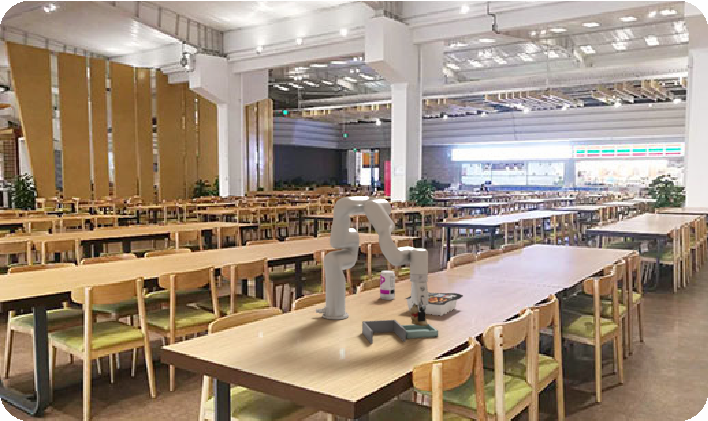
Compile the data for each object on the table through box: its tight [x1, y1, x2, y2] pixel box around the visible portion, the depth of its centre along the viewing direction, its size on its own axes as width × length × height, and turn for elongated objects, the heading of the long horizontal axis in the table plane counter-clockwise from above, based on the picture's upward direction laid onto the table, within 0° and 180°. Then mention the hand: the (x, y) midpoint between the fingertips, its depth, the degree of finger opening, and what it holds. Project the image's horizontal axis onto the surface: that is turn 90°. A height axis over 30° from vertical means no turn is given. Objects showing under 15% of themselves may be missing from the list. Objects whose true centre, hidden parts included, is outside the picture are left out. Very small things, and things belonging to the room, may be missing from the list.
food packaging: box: [405, 291, 464, 317], centre depth 283 cm, size 25×8×23 cm
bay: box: [361, 319, 407, 345], centre depth 235 cm, size 15×16×5 cm
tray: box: [400, 323, 439, 339], centre depth 240 cm, size 14×12×2 cm
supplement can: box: [379, 270, 396, 301], centre depth 310 cm, size 8×8×15 cm
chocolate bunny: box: [409, 304, 429, 326], centre depth 239 cm, size 6×8×10 cm
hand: (418, 318), depth 239 cm, fingers closed on chocolate bunny, 6 cm apart
